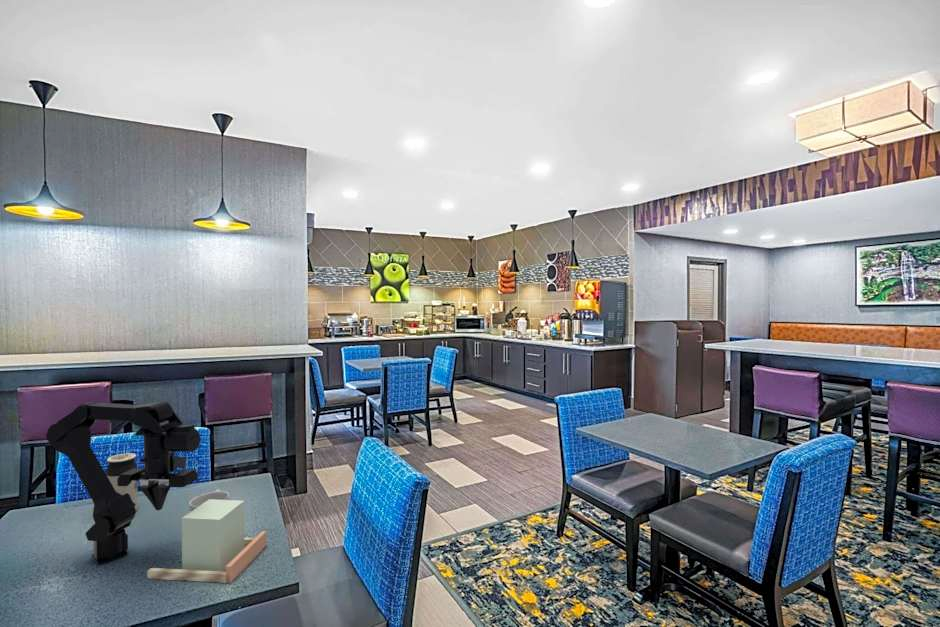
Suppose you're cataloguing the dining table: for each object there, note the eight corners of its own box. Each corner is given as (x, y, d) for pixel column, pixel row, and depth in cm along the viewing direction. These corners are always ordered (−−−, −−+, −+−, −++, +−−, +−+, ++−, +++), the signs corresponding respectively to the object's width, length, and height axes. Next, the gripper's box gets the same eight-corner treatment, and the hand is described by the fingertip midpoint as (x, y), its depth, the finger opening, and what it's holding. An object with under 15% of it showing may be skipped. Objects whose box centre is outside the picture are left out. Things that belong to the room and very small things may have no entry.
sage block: (182, 572, 118) (181, 517, 117) (209, 549, 129) (209, 499, 128) (220, 574, 117) (219, 519, 116) (244, 551, 128) (244, 500, 127)
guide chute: (147, 578, 115) (147, 562, 115) (194, 542, 132) (193, 528, 132) (230, 582, 113) (230, 566, 113) (266, 545, 131) (266, 531, 131)
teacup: (217, 532, 138) (217, 505, 138) (181, 531, 138) (180, 504, 138) (241, 510, 152) (241, 486, 152) (208, 510, 152) (208, 486, 152)
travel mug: (101, 519, 145) (101, 462, 145) (113, 508, 153) (113, 453, 152) (131, 516, 147) (130, 459, 147) (141, 505, 155) (141, 451, 154)
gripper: (210, 442, 130) (212, 497, 131) (147, 441, 132) (149, 496, 132) (182, 455, 119) (184, 515, 120) (114, 454, 121) (116, 514, 121)
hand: (159, 509), depth 123 cm, fingers closed
